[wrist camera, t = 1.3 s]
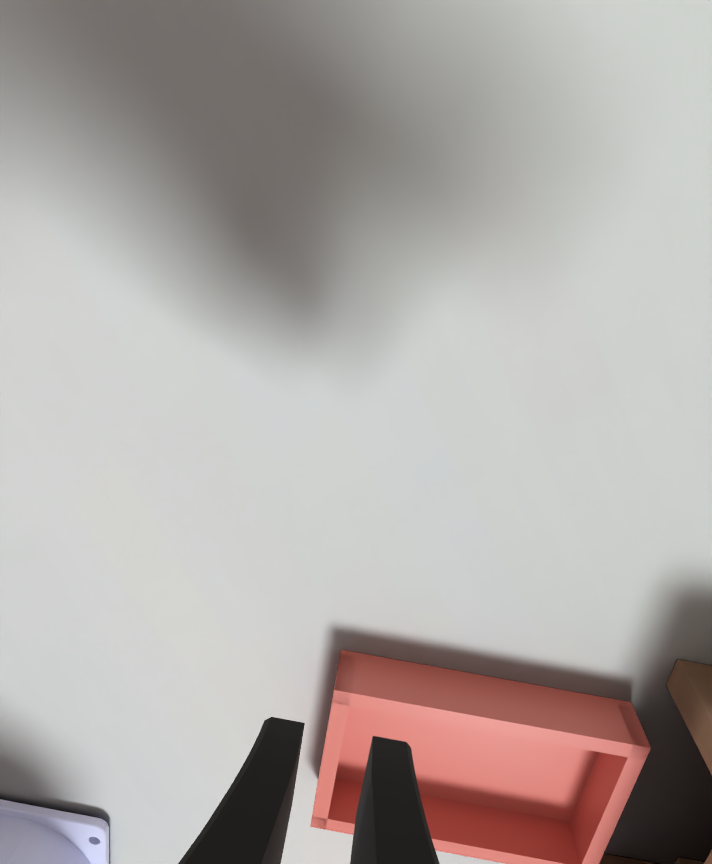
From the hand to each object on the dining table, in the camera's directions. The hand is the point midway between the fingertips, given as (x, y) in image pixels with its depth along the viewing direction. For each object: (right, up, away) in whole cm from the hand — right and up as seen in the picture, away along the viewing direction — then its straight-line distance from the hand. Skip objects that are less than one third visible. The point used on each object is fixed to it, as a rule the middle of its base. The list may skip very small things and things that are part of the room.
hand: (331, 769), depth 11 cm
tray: (+5, -6, +14) cm, 16 cm away
